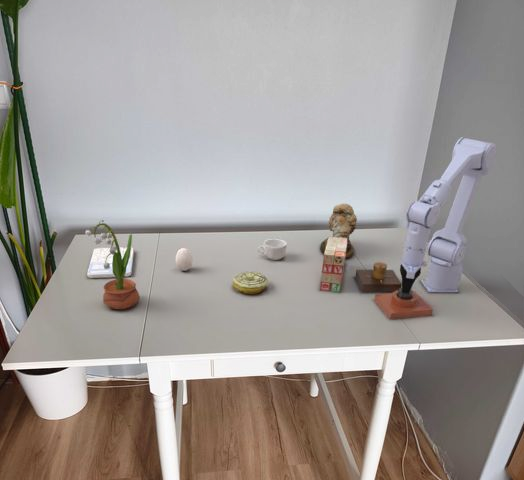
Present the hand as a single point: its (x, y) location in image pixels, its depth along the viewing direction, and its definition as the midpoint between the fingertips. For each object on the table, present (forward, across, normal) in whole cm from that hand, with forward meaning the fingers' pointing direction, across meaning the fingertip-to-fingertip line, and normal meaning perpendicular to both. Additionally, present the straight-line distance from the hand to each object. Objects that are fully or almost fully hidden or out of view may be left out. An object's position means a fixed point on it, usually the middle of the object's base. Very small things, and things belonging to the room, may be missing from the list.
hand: (405, 290), depth 143 cm
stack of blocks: (+6, +13, +23) cm, 27 cm away
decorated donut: (+6, -3, +46) cm, 46 cm away
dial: (+3, +12, +8) cm, 15 cm away
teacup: (+6, +20, +45) cm, 50 cm away
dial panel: (+6, +12, +8) cm, 16 cm away
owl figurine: (+6, +35, +25) cm, 43 cm away
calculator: (+6, -3, +93) cm, 93 cm away
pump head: (+2, 0, 0) cm, 2 cm away
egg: (+6, +2, +69) cm, 70 cm away
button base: (+6, 0, 0) cm, 6 cm away
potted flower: (+6, -25, +78) cm, 82 cm away
